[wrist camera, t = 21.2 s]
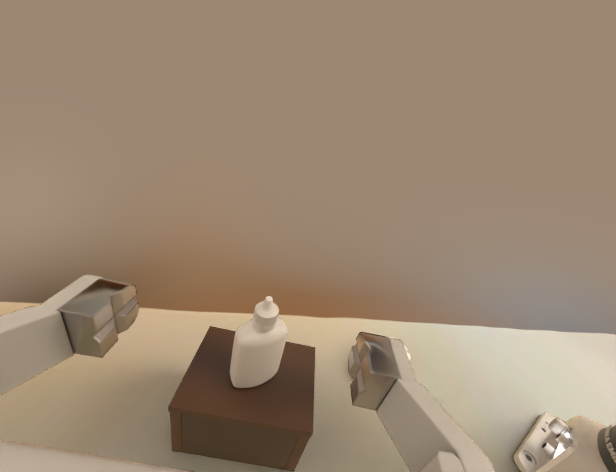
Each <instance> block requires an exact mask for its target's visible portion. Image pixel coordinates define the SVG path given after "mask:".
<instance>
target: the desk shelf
mask: <svg viewBox="0 0 616 472" xmlns="http://www.w3.org/2000/svg"><path fill="white" fill-rule="evenodd" d="M235 332H236V331H231V330H226V329H221V328H216V327H211V326H210V328H209V329H208V331H207V333H206V335H205V337H204V339H203V341H202V343H201V345H200V347H199V349H198V351H197V353H196V355H195V356H194V358H193V360H192V362H191V364H190V366H189V368H188V370H187V372H186V374H185V376H184V378H183V380H182V382H181V383H180V385H179V387H178V389H177V391H176V393H175V395H174V397H173V399H172V401H171V403H170V405H169V407H168V408H169V412H170V421H171V439H172V450H173V451H179V452H185V453H191V454H197V455H203V456H209V457H214V458H220V459H226V460H232V461H238V462H244V463H250V464H256V465H261V466H267V467H273V468H279V469H285V470H290V471H294V470H295V468H296V465H297V463H298V461H299V459H300V457H301V455H302V453H303V451H304V448H305V446H306V444H307V442H308V440H309V438H310V437H311V436H312V433H313V409H314V372H315V347H310V346H305V345H300V344H295V343H290V342H286V343H285V346H284V350H283V354H282V358H281V361H280V365H279V368H278V371H277V373H276V374H275V375H274V376H273V377H272V378H271V379H269V380H268V381H266V382H265V383H263V384H260V385H258V386H255V387H250V388H236V387H234V386H233V384H232V381H231V377H230V365H231V358H232V350H233V343H234V337H235Z"/></svg>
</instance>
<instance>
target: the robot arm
mask: <svg viewBox="0 0 616 472" xmlns="http://www.w3.org/2000/svg"><path fill="white" fill-rule="evenodd" d="M136 294H137V289H136V286H135V285H133V284H129V283H125V282H121V281H117V280H112V279H108V278H103V277H98V276H94V275H90V274H89V275H84V276H82V277H81V278H79V279H77V280H76V281H75V282H73V283H72V284H70V285H69V286H67V287H66V288H64V289H63V290H61V291H60V292H58V293H57V294H55V295H54V296H52V297H51V298H50V299H48V300H47V301H45V302H44V303H42V304H41V305H39V306H38V307H34V306H30V307H27V308H24V309H21V310H18V311H14V312H11V313H8V314H5V315H1V316H0V396H1V395H3V394H4V393H6V392H8V391H10V390H12V389H13V388H15V387H17V386H19V385H21V384H22V383H24V382H26V381H28V380H30V379H31V378H33V377H35V376H37V375H39V374H40V373H42V372H44V371H46V370H48V369H49V368H51V367H53V366H55V365H57V364H58V363H60V362H62V361H64V360H66V359H67V358H69V357H71V356H73V355H74V353H75V354H81V355H88V356H94V357H100V358H102V357H103V356H104V355H105V354H106V353H107V352H108V351H109V350H110V349H111V347H112V346H113V345H114V344H115V343H116V342H117V341H118V334H119V333H121V332H123V331H125V330H127V329H128V328H129V327H130V326H131V325H132V324H133V323H134V321H135V319H136V317H137V315H138V310H139V305H138V304H139V303H138V302H137V300H136V299H135V298H134V296H135V295H136ZM356 340H357V344H356V345H354V346H353V347H352V349H351V351H350V355H349V360H348V368H349V374H350V375H351V377H352V378H353V381H352V383H351V385H350V388H351V397H352V405H353V406H357V407H362V408H366V409H371V410H375V411H376V413H377V415H378V416H379V418H380V420H381V422H382V423H383V425H384V427H385V428H386V430H387V432H388V434H389V435H390V437H391V439H392V441H393V442H394V444H395V446H396V447H397V449H398V451H399V453H400V454H401V456H402V458H403V460H404V461H405V463H406V465H407V466H408V468H409V470H410V472H495V470H494V468H493V465H492V463H491V461H490V459H489V458H488V457H487V456H486V455H485V453H484V452H483V451H482V450H481V449H480V448H479V447H478V446H477V445H476V443H475V442H474V441H473V440H472V439H471V438H470V437H469V436H468V435H467V434H466V432H465V431H464V430H463V429H462V428H461V427H460V426H459V425H458V424H457V422H456V421H455V420H454V419H453V418H452V417H451V416H450V415H449V414H448V413H447V411H446V410H445V409H444V408H443V407H442V406H441V405H440V404H439V403H438V401H437V400H436V399H435V398H434V397H433V396H432V395H431V394H430V393H429V392H428V390H427V389H426V388H425V387H424V386H423V385H422V384H420V383H417V380H416V378H415V375H414V372H413V369H412V367H411V364H410V361H409V358H408V356H407V353H406V350H405V347H404V345H403V342H402V341H401V340H400V339H395V338H390V337H385V336H380V335H375V334H370V333H365V332H360V333H359V334H358V336H357V338H356ZM514 461H515V463H516V465H517V466H518V468H519V470H520V471H521V472H616V424H613V425H610V426H609V427H606V426H604V425H602V424H600V423H598V422H596V421H594V420H591V419H589V418H586V417H583V416H575V417H573V418H571V419H570V420H568V421H567V422H565V421H563V420H561V419H560V418H558V417H555V416H553V415H550V414H548V413H544V414H542V415H541V416H540V417H539V418H538V420H537V421H536V423H535V424H534V426H533V427H532V429H531V430H530V432H529V433H528V435H527V436H526V438H525V439H524V441H523V442H522V444H521V445H520V447H519V448H518V450H517V451H516V453H515V454H514ZM0 472H193V471H187V470H181V469H175V468H169V467H163V466H157V465H151V464H145V463H139V462H133V461H127V460H121V459H115V458H109V457H103V456H97V455H91V454H85V453H79V452H73V451H67V450H61V449H55V448H49V447H43V446H37V445H31V444H25V443H19V442H13V441H7V440H1V439H0Z"/></svg>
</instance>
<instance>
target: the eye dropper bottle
mask: <svg viewBox="0 0 616 472" xmlns="http://www.w3.org/2000/svg"><path fill="white" fill-rule="evenodd" d="M278 313H279V309H278V306H277V305H276V304H275V303H273V298H272V297H270V296H268V297H266V299H265V301H262V302H260V303H258V304H257V305H256V307H255V312H254V317H253V319H251V320H249V321H247V322H246V323H244V324H243V325H241V326H240V327H239V328H238V329H237V330H236V332H235V337H234V343H233V350H232V358H231V365H230V377H231V381H232V384H233V386H234V387H236V388H250V387H255V386H258V385H260V384H263V383H265V382H266V381H268V380H269V379H271V378H272V377H273V376H274V375H275V374H276V373H277V371H278V368H279V365H280V361H281V358H282V354H283V350H284V346H285V343H286V339H287V335H288V330H287V327H286V325H285V323H284V321H283V320H282V319H281V318H278Z"/></svg>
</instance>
